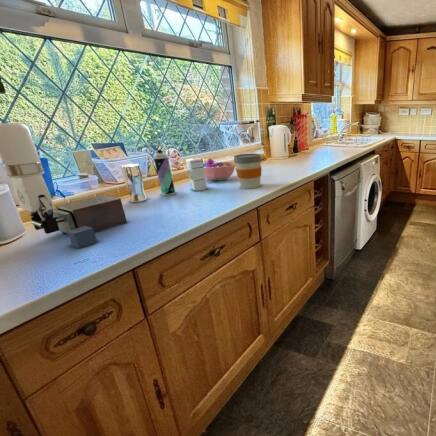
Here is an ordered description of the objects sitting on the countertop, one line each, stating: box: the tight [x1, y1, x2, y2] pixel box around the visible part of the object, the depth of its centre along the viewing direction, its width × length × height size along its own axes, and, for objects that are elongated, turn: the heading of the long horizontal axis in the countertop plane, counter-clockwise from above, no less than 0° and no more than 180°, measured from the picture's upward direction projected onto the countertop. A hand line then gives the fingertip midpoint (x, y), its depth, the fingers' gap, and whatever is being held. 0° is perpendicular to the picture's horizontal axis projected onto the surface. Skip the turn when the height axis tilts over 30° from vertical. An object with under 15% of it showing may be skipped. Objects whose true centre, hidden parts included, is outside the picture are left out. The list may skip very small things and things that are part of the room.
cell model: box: [203, 158, 236, 181], centre depth 161 cm, size 17×20×11 cm
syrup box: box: [185, 157, 208, 192], centre depth 142 cm, size 6×6×14 cm
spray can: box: [153, 149, 176, 197], centre depth 135 cm, size 6×6×20 cm
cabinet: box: [55, 194, 128, 234], centre depth 99 cm, size 14×12×9 cm
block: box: [66, 226, 98, 249], centre depth 86 cm, size 4×4×4 cm
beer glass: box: [120, 163, 148, 203], centre depth 127 cm, size 7×7×15 cm
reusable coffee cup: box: [233, 153, 262, 190], centre depth 144 cm, size 13×13×15 cm
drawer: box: [31, 208, 77, 235], centre depth 95 cm, size 18×10×7 cm, turn 151°
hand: (47, 229), depth 89 cm, fingers closed on drawer, 6 cm apart
